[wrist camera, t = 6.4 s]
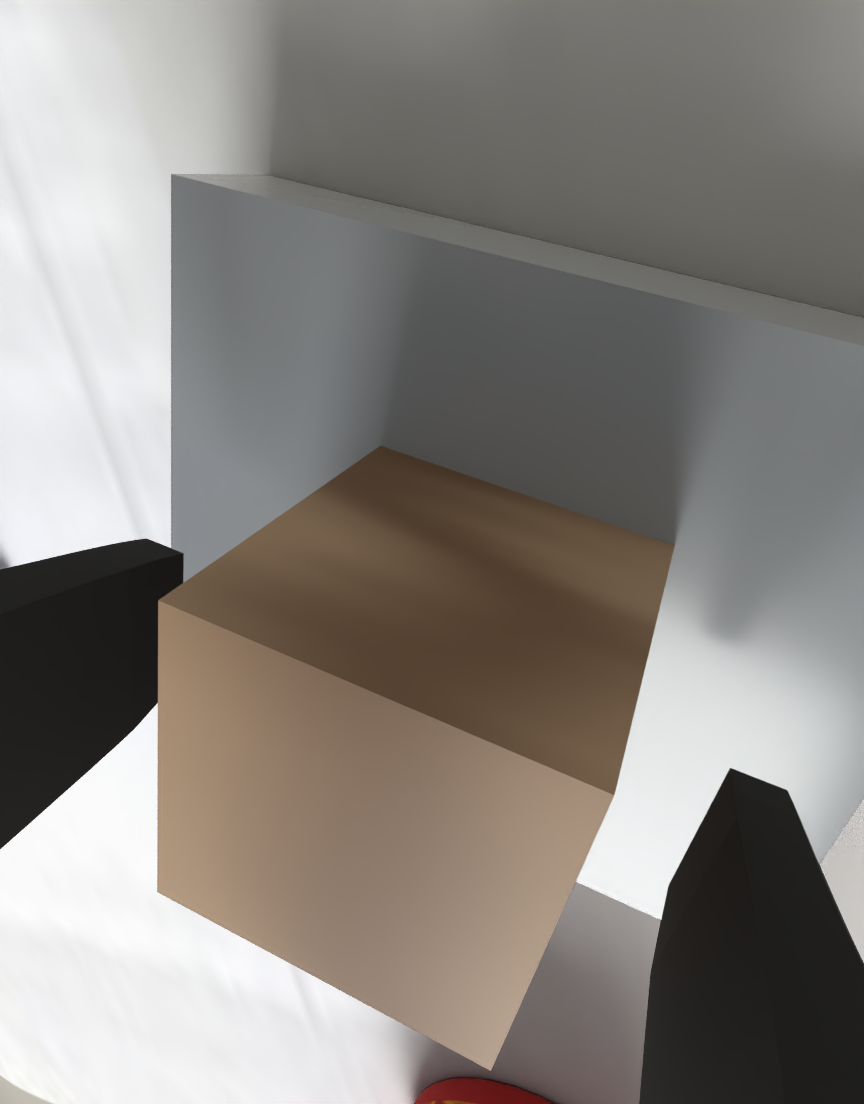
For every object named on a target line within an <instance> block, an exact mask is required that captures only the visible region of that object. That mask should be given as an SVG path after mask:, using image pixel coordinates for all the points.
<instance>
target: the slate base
mask: <svg viewBox="0 0 864 1104" xmlns="http://www.w3.org/2000/svg"><path fill="white" fill-rule="evenodd" d="M379 446H383V447H386V448H389V449H392V450H395V451H398V452H401V453H404V454H406V455H409V456H412V457H415V458H418V459H421V460H424V461H427V462H430V463H433V464H436V465H439V466H442V467H445V468H448V469H451V470H453V471H456V472H459V473H462V474H465V475H468V476H471V477H474V478H477V479H480V480H483V481H486V482H489V483H492V484H495V485H498V486H500V487H503V488H506V489H509V490H512V491H515V492H518V493H521V494H524V495H527V496H530V497H533V498H536V499H539V500H542V501H545V502H547V503H550V504H553V505H556V506H559V507H562V508H565V509H568V510H571V511H574V512H577V513H580V514H583V515H586V516H589V517H592V518H594V519H597V520H600V521H603V522H606V523H609V524H612V525H615V526H618V527H621V528H624V529H627V530H630V531H633V532H636V533H639V534H641V535H644V536H647V537H650V538H653V539H656V540H659V541H662V542H665V543H668V544H671V545H674V546H675V547H674V551H673V555H672V560H671V564H670V568H669V572H668V576H667V580H666V584H665V589H664V593H663V597H662V601H661V605H660V609H659V613H658V617H657V622H656V626H655V630H654V634H653V638H652V642H651V646H650V650H649V655H648V659H647V663H646V667H645V671H644V675H643V679H642V683H641V688H640V692H639V696H638V700H637V704H636V708H635V712H634V717H633V721H632V725H631V729H630V733H629V737H628V741H627V745H626V750H625V754H624V758H623V762H622V766H621V770H620V774H619V778H618V783H617V787H616V791H615V795H614V797H613V800H612V802H611V804H610V806H609V809H608V811H607V813H606V815H605V817H604V820H603V822H602V824H601V826H600V829H599V831H598V833H597V835H596V838H595V840H594V842H593V844H592V846H591V849H590V851H589V853H588V855H587V858H586V860H585V862H584V864H583V867H582V869H581V871H580V873H579V875H578V878H577V880H576V882H577V883H579V884H582V885H584V886H586V887H588V888H590V889H593V890H595V891H597V892H599V893H602V894H604V895H606V896H608V897H610V898H613V899H615V900H617V901H619V902H622V903H624V904H626V905H628V906H630V907H633V908H635V909H637V910H639V911H642V912H644V913H646V914H648V915H650V916H653V917H655V918H657V919H659V920H661V919H662V914H663V909H664V904H665V900H666V895H667V890H668V886H669V884H670V882H671V880H672V878H673V876H674V874H675V872H676V870H677V868H678V866H679V864H680V863H681V861H682V859H683V857H684V855H685V853H686V851H687V849H688V847H689V845H690V843H691V842H692V840H693V838H694V836H695V834H696V832H697V830H698V828H699V826H700V824H701V822H702V821H703V819H704V817H705V815H706V813H707V811H708V809H709V807H710V805H711V803H712V801H713V800H714V798H715V796H716V794H717V792H718V790H719V788H720V786H721V784H722V782H723V780H724V779H725V777H726V775H727V773H728V771H729V769H730V768H732V769H735V770H737V771H740V772H742V773H745V774H747V775H750V776H753V777H755V778H758V779H760V780H763V781H765V782H768V783H770V784H773V785H775V786H778V787H781V788H783V789H786V790H787V791H788V793H789V795H790V797H791V799H792V801H793V803H794V805H795V808H796V810H797V812H798V815H799V817H800V819H801V822H802V824H803V827H804V829H805V831H806V834H807V836H808V839H809V841H810V843H811V846H812V848H813V851H814V853H815V855H816V858H817V860H818V862H819V865H820V863H821V862H822V860H823V859H824V857H825V856H826V854H827V853H828V851H829V850H830V848H831V847H832V845H833V844H834V842H835V841H836V839H837V838H838V836H839V835H840V833H841V832H842V830H843V829H844V827H845V826H846V824H847V823H848V821H849V820H850V818H851V817H852V815H853V814H854V812H855V811H856V809H857V808H858V806H859V805H860V803H861V802H862V800H863V799H864V318H863V317H859V316H854V315H850V314H846V313H842V312H838V311H834V310H829V309H825V308H821V307H817V306H813V305H809V304H804V303H800V302H796V301H792V300H788V299H783V298H779V297H775V296H771V295H767V294H763V293H758V292H754V291H750V290H746V289H742V288H738V287H733V286H729V285H725V284H721V283H717V282H712V281H708V280H704V279H700V278H696V277H692V276H687V275H683V274H679V273H675V272H671V271H667V270H662V269H658V268H654V267H650V266H646V265H641V264H637V263H633V262H629V261H625V260H621V259H616V258H612V257H608V256H604V255H600V254H595V253H591V252H587V251H583V250H579V249H575V248H570V247H566V246H562V245H558V244H554V243H550V242H545V241H541V240H537V239H533V238H529V237H524V236H520V235H516V234H512V233H508V232H504V231H499V230H495V229H491V228H487V227H483V226H479V225H474V224H470V223H466V222H462V221H458V220H453V219H449V218H445V217H441V216H437V215H433V214H428V213H424V212H420V211H416V210H412V209H408V208H403V207H399V206H395V205H391V204H387V203H382V202H378V201H374V200H370V199H366V198H362V197H357V196H353V195H349V194H345V193H341V192H337V191H332V190H328V189H324V188H320V187H316V186H311V185H307V184H303V183H299V182H295V181H291V180H286V179H282V178H278V177H274V176H270V175H208V174H171V549H174V550H177V551H179V552H182V553H184V569H183V583H184V582H185V581H187V580H188V579H190V578H191V577H193V576H194V575H195V574H197V573H198V572H200V571H201V570H203V569H204V568H205V567H207V566H208V565H210V564H211V563H213V562H214V561H216V560H217V559H218V558H220V557H221V556H223V555H224V554H226V553H227V552H228V551H230V550H231V549H233V548H234V547H236V546H237V545H239V544H240V543H241V542H243V541H244V540H246V539H247V538H249V537H250V536H251V535H253V534H254V533H256V532H257V531H259V530H260V529H261V528H263V527H264V526H266V525H267V524H269V523H270V522H272V521H273V520H274V519H276V518H277V517H279V516H280V515H282V514H283V513H284V512H286V511H287V510H289V509H290V508H292V507H293V506H295V505H296V504H297V503H299V502H300V501H302V500H303V499H305V498H306V497H307V496H309V495H310V494H312V493H313V492H315V491H316V490H317V489H319V488H320V487H322V486H323V485H325V484H326V483H328V482H329V481H330V480H332V479H333V478H335V477H336V476H338V475H339V474H340V473H342V472H343V471H345V470H346V469H348V468H349V467H351V466H352V465H353V464H355V463H356V462H358V461H359V460H361V459H362V458H363V457H365V456H366V455H368V454H369V453H371V452H372V451H373V450H375V449H376V448H378V447H379Z"/></svg>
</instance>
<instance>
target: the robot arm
mask: <svg viewBox="0 0 864 1104" xmlns="http://www.w3.org/2000/svg"><path fill="white" fill-rule="evenodd" d="M183 569H184V553H182V552H179V551H177V550H174V549H171V548H169V547H166V546H164V545H161V544H159V543H156V542H154V541H151V540H149V539H140V540H134V541H127V542H121V543H116V544H111V545H106V546H101V547H97V548H92V549H88V550H83V551H79V552H74V553H70V554H66V555H61V556H57V557H53V558H49V559H44V560H40V561H36V562H31V563H27V564H23V565H19V566H14V567H10V568H6V569H1V570H0V849H1V848H2V847H3V846H4V845H6V844H7V843H8V842H9V841H10V840H11V839H12V838H13V837H15V836H16V835H17V834H18V833H19V832H20V831H21V830H22V829H24V828H25V827H26V826H27V825H28V824H29V823H30V822H31V821H33V820H34V819H35V818H36V817H37V816H38V815H39V814H40V813H42V812H43V811H44V810H45V809H46V808H47V807H48V806H49V805H51V804H52V803H53V802H54V801H55V800H56V799H57V798H58V797H60V796H61V795H62V794H63V793H64V792H65V791H66V790H67V789H69V788H70V787H71V786H72V785H73V784H74V783H75V782H76V781H78V780H79V779H80V778H81V777H82V776H83V775H84V774H85V773H87V772H88V771H89V770H90V769H91V768H92V767H93V766H94V765H95V764H97V763H98V762H99V761H100V760H101V759H102V758H103V757H104V756H105V755H106V754H108V753H109V752H110V751H111V750H112V749H113V748H114V747H115V746H116V745H117V744H119V743H120V742H121V741H122V740H123V739H124V738H125V737H126V736H127V735H128V734H129V733H130V732H131V731H133V730H134V729H135V727H136V726H137V725H138V724H139V723H140V722H141V721H142V720H143V718H144V717H145V716H146V715H147V714H148V713H149V712H150V711H151V709H152V708H153V707H154V706H155V705H156V704H157V703H158V600H160V599H161V598H162V597H164V596H165V595H167V594H168V593H170V592H171V591H172V590H174V589H175V588H177V587H178V586H180V585H181V584H183ZM639 1104H864V963H863V961H862V959H861V957H860V954H859V952H858V950H857V948H856V946H855V944H854V942H853V940H852V938H851V935H850V933H849V931H848V929H847V926H846V924H845V922H844V920H843V918H842V915H841V913H840V911H839V909H838V906H837V904H836V902H835V899H834V897H833V895H832V893H831V890H830V888H829V886H828V883H827V881H826V879H825V876H824V874H823V872H822V869H821V867H820V865H819V862H818V860H817V858H816V855H815V853H814V851H813V848H812V846H811V843H810V841H809V839H808V836H807V834H806V831H805V829H804V827H803V824H802V822H801V819H800V817H799V815H798V812H797V810H796V808H795V805H794V803H793V801H792V799H791V797H790V795H789V793H788V791H787V790H786V789H783V788H781V787H778V786H775V785H773V784H770V783H768V782H765V781H763V780H760V779H758V778H755V777H753V776H750V775H747V774H745V773H742V772H740V771H737V770H735V769H732V768H730V769H729V771H728V773H727V775H726V777H725V779H724V780H723V782H722V784H721V786H720V788H719V790H718V792H717V794H716V796H715V798H714V800H713V801H712V803H711V805H710V807H709V809H708V811H707V813H706V815H705V817H704V819H703V821H702V822H701V824H700V826H699V828H698V830H697V832H696V834H695V836H694V838H693V840H692V842H691V843H690V845H689V847H688V849H687V851H686V853H685V855H684V857H683V859H682V861H681V863H680V864H679V866H678V868H677V870H676V872H675V874H674V876H673V878H672V880H671V882H670V884H669V886H668V890H667V895H666V900H665V904H664V909H663V914H662V919H661V923H660V928H659V933H658V938H657V943H656V948H655V953H654V958H653V964H652V969H651V976H650V987H649V997H648V1009H647V1020H646V1031H645V1043H644V1054H643V1066H642V1078H641V1090H640V1102H639Z"/></svg>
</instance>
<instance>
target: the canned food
mask: <svg viewBox="0 0 864 1104" xmlns="http://www.w3.org/2000/svg"><path fill="white" fill-rule="evenodd" d="M414 1104H554V1103H552V1102H550V1101H548V1100H546V1099H544V1098H542V1097H540V1096H538V1095H535V1094H533V1093H530V1092H528V1091H525V1090H522V1089H520V1088H517V1087H515V1086H511V1085H507V1084H503V1083H500V1082H496V1081H492V1080H485V1079H477V1078H454V1079H448V1080H444V1081H441V1082H437V1083H434V1084H432V1085H431V1086H429V1087H428V1088H426V1089H425V1090H424V1091H423V1092H422V1093H421V1095H420V1096H419V1097H418V1098H417V1100H416V1101H415V1102H414Z"/></svg>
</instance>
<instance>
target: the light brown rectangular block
mask: <svg viewBox="0 0 864 1104" xmlns="http://www.w3.org/2000/svg"><path fill="white" fill-rule="evenodd" d="M674 547H675V546H674V545H671V544H668V543H665V542H662V541H659V540H656V539H653V538H650V537H647V536H644V535H641V534H639V533H636V532H633V531H630V530H627V529H624V528H621V527H618V526H615V525H612V524H609V523H606V522H603V521H600V520H597V519H594V518H592V517H589V516H586V515H583V514H580V513H577V512H574V511H571V510H568V509H565V508H562V507H559V506H556V505H553V504H550V503H547V502H545V501H542V500H539V499H536V498H533V497H530V496H527V495H524V494H521V493H518V492H515V491H512V490H509V489H506V488H503V487H500V486H498V485H495V484H492V483H489V482H486V481H483V480H480V479H477V478H474V477H471V476H468V475H465V474H462V473H459V472H456V471H453V470H451V469H448V468H445V467H442V466H439V465H436V464H433V463H430V462H427V461H424V460H421V459H418V458H415V457H412V456H409V455H406V454H404V453H401V452H398V451H395V450H392V449H389V448H386V447H383V446H379V447H378V448H376V449H375V450H373V451H372V452H371V453H369V454H368V455H366V456H365V457H363V458H362V459H361V460H359V461H358V462H356V463H355V464H353V465H352V466H351V467H349V468H348V469H346V470H345V471H343V472H342V473H340V474H339V475H338V476H336V477H335V478H333V479H332V480H330V481H329V482H328V483H326V484H325V485H323V486H322V487H320V488H319V489H317V490H316V491H315V492H313V493H312V494H310V495H309V496H307V497H306V498H305V499H303V500H302V501H300V502H299V503H297V504H296V505H295V506H293V507H292V508H290V509H289V510H287V511H286V512H284V513H283V514H282V515H280V516H279V517H277V518H276V519H274V520H273V521H272V522H270V523H269V524H267V525H266V526H264V527H263V528H261V529H260V530H259V531H257V532H256V533H254V534H253V535H251V536H250V537H249V538H247V539H246V540H244V541H243V542H241V543H240V544H239V545H237V546H236V547H234V548H233V549H231V550H230V551H228V552H227V553H226V554H224V555H223V556H221V557H220V558H218V559H217V560H216V561H214V562H213V563H211V564H210V565H208V566H207V567H205V568H204V569H203V570H201V571H200V572H198V573H197V574H195V575H194V576H193V577H191V578H190V579H188V580H187V581H185V582H184V583H183V584H181V585H180V586H178V587H177V588H175V589H174V590H172V591H171V592H170V593H168V594H167V595H165V596H164V597H162V598H161V599H160V600H158V876H157V892H158V893H160V894H162V895H164V896H166V897H168V898H170V899H172V900H173V901H175V902H177V903H179V904H181V905H183V906H185V907H186V908H188V909H190V910H192V911H194V912H196V913H198V914H199V915H201V916H203V917H205V918H207V919H209V920H211V921H212V922H214V923H216V924H218V925H220V926H222V927H224V928H225V929H227V930H229V931H231V932H233V933H235V934H237V935H238V936H240V937H242V938H244V939H246V940H248V941H250V942H252V943H253V944H255V945H257V946H259V947H261V948H263V949H265V950H266V951H268V952H270V953H272V954H274V955H276V956H278V957H279V958H281V959H283V960H285V961H287V962H289V963H291V964H292V965H294V966H296V967H298V968H300V969H302V970H304V971H305V972H307V973H309V974H311V975H313V976H315V977H317V978H318V979H320V980H322V981H324V982H326V983H328V984H330V985H332V986H333V987H335V988H337V989H339V990H341V991H343V992H345V993H346V994H348V995H350V996H352V997H354V998H356V999H358V1000H359V1001H361V1002H363V1003H365V1004H367V1005H369V1006H371V1007H372V1008H374V1009H376V1010H378V1011H380V1012H382V1013H384V1014H385V1015H387V1016H389V1017H391V1018H393V1019H395V1020H397V1021H398V1022H400V1023H402V1024H404V1025H406V1026H408V1027H410V1028H411V1029H413V1030H415V1031H417V1032H419V1033H421V1034H423V1035H425V1036H426V1037H428V1038H430V1039H432V1040H434V1041H436V1042H438V1043H439V1044H441V1045H443V1046H445V1047H447V1048H449V1049H451V1050H452V1051H454V1052H456V1053H458V1054H460V1055H462V1056H464V1057H465V1058H467V1059H469V1060H471V1061H473V1062H475V1063H477V1064H478V1065H480V1066H482V1067H484V1068H486V1069H488V1070H490V1071H491V1070H492V1067H493V1065H494V1063H495V1061H496V1058H497V1056H498V1054H499V1052H500V1050H501V1047H502V1045H503V1043H504V1041H505V1038H506V1036H507V1034H508V1032H509V1029H510V1027H511V1025H512V1023H513V1021H514V1018H515V1016H516V1014H517V1012H518V1009H519V1007H520V1005H521V1003H522V1000H523V998H524V996H525V994H526V992H527V989H528V987H529V985H530V983H531V980H532V978H533V976H534V974H535V971H536V969H537V967H538V965H539V962H540V960H541V958H542V956H543V954H544V951H545V949H546V947H547V945H548V942H549V940H550V938H551V936H552V933H553V931H554V929H555V927H556V925H557V922H558V920H559V918H560V916H561V913H562V911H563V909H564V907H565V904H566V902H567V900H568V898H569V896H570V893H571V891H572V889H573V887H574V884H575V882H576V880H577V878H578V875H579V873H580V871H581V869H582V867H583V864H584V862H585V860H586V858H587V855H588V853H589V851H590V849H591V846H592V844H593V842H594V840H595V838H596V835H597V833H598V831H599V829H600V826H601V824H602V822H603V820H604V817H605V815H606V813H607V811H608V809H609V806H610V804H611V802H612V800H613V797H614V795H615V791H616V787H617V783H618V778H619V774H620V770H621V766H622V762H623V758H624V754H625V750H626V745H627V741H628V737H629V733H630V729H631V725H632V721H633V717H634V712H635V708H636V704H637V700H638V696H639V692H640V688H641V683H642V679H643V675H644V671H645V667H646V663H647V659H648V655H649V650H650V646H651V642H652V638H653V634H654V630H655V626H656V622H657V617H658V613H659V609H660V605H661V601H662V597H663V593H664V589H665V584H666V580H667V576H668V572H669V568H670V564H671V560H672V555H673V551H674Z"/></svg>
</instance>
